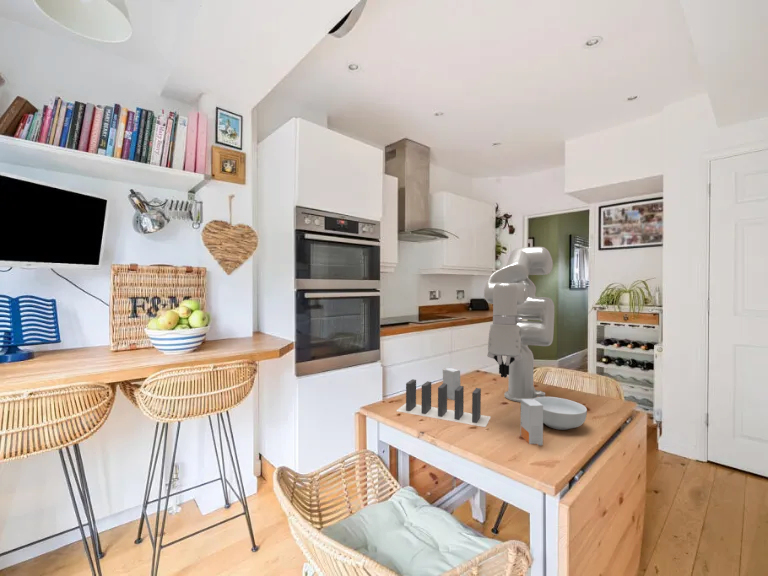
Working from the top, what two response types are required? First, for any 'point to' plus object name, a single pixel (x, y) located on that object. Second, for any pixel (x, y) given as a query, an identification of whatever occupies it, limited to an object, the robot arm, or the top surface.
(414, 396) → the domino
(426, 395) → the domino
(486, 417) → the board
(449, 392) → the skincare box
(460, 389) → the domino
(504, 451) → the top surface
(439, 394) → the domino
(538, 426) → the skincare box
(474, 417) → the domino
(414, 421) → the top surface
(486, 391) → the top surface
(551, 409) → the cereal bowl
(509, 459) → the top surface
